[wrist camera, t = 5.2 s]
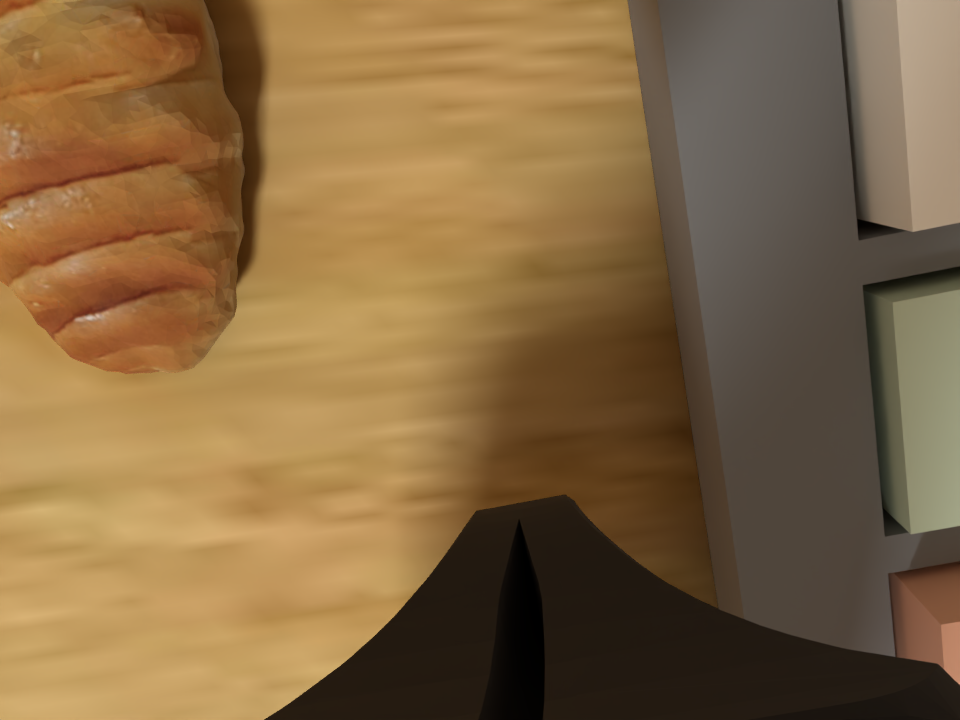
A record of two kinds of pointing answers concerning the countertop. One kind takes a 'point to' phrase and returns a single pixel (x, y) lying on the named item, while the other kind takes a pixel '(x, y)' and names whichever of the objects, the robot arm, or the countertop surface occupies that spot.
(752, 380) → the panel
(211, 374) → the countertop surface
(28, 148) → the pastry
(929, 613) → the terracotta button
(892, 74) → the cream button
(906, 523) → the sage button
